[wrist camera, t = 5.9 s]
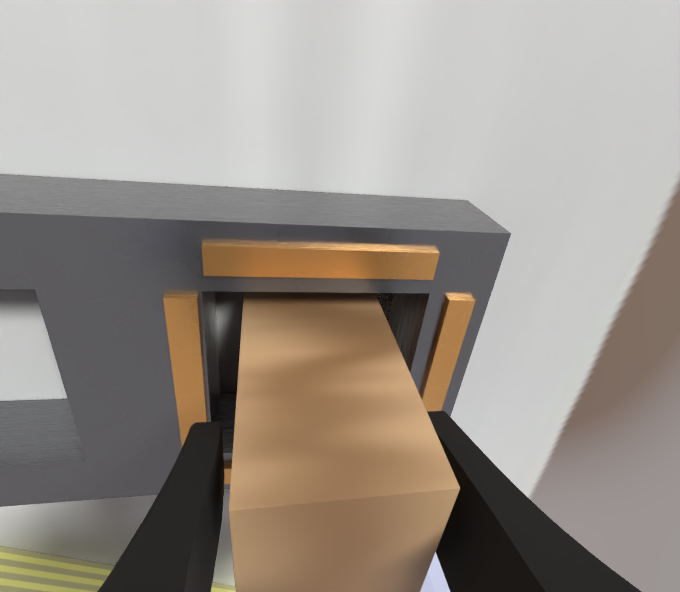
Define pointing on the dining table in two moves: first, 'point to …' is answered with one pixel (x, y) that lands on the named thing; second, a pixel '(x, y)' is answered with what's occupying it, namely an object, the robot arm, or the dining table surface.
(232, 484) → the wooden block
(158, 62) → the dining table surface
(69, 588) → the hardcover book
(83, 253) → the grey slotted holder
